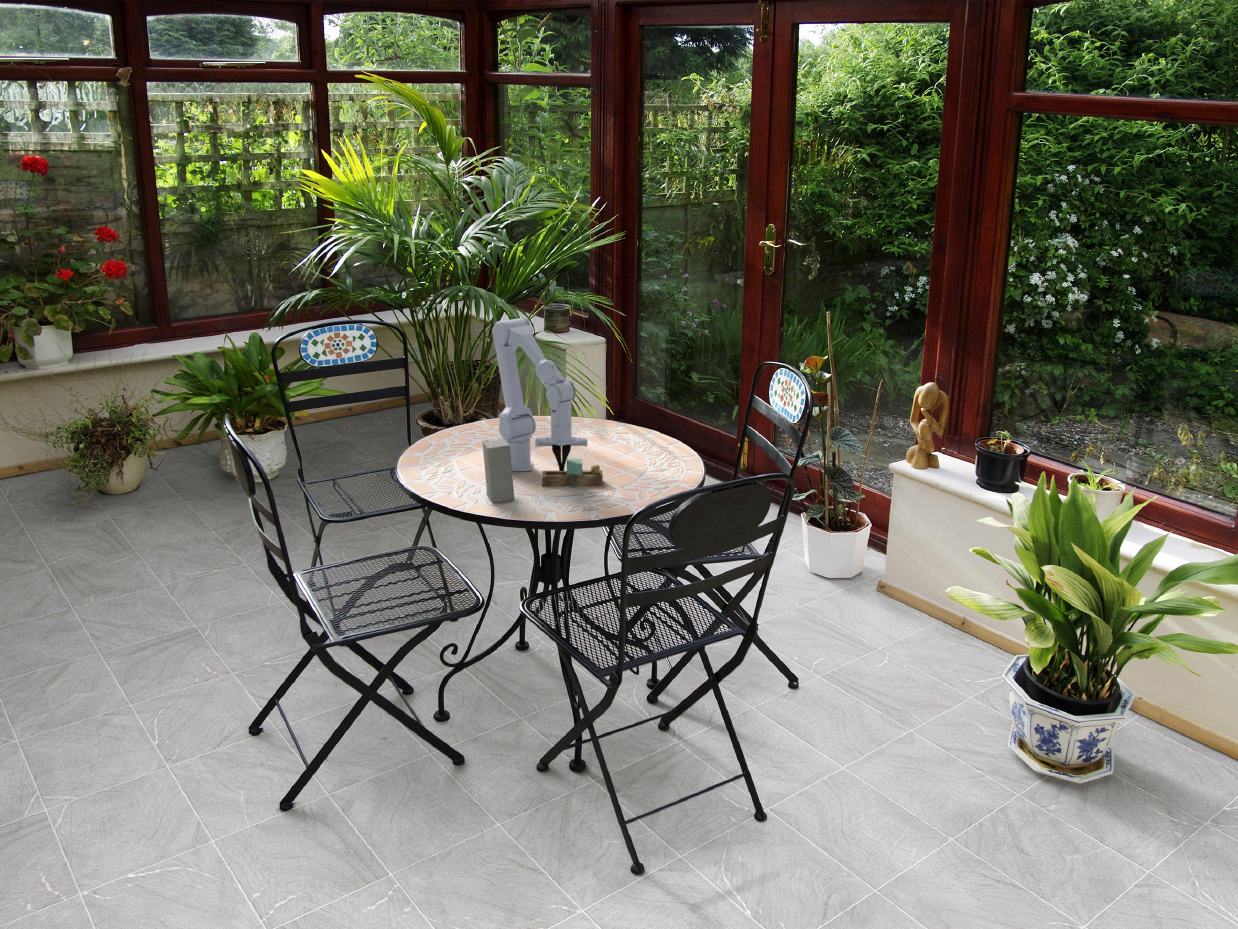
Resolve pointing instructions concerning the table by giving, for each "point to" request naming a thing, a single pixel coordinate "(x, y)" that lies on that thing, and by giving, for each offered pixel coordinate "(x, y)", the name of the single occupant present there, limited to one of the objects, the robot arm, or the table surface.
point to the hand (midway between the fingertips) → (561, 470)
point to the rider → (574, 466)
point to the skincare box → (498, 470)
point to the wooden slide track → (573, 478)
